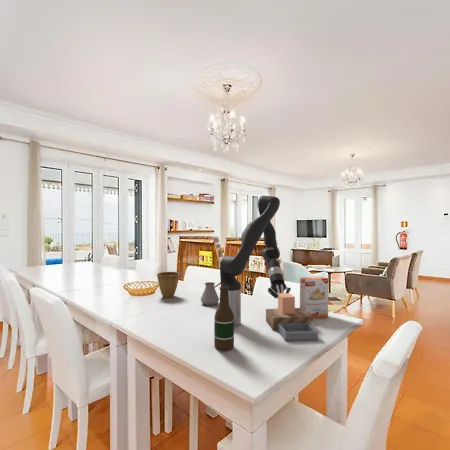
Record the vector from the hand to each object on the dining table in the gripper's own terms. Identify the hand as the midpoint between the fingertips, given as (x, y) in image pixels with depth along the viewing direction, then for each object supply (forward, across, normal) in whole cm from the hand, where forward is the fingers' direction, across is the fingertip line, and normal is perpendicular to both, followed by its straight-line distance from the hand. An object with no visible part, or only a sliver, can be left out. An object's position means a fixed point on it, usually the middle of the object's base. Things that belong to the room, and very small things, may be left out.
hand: (282, 304), depth 147 cm
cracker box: (+4, +18, +8) cm, 20 cm away
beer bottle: (+28, -33, -16) cm, 46 cm away
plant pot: (-33, -64, +44) cm, 84 cm away
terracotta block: (+6, 0, -3) cm, 6 cm away
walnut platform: (+11, 0, 0) cm, 11 cm away
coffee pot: (-20, -32, +31) cm, 49 cm away
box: (+21, 0, -10) cm, 23 cm away
